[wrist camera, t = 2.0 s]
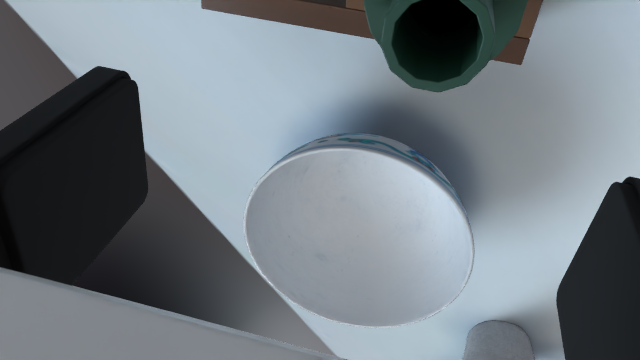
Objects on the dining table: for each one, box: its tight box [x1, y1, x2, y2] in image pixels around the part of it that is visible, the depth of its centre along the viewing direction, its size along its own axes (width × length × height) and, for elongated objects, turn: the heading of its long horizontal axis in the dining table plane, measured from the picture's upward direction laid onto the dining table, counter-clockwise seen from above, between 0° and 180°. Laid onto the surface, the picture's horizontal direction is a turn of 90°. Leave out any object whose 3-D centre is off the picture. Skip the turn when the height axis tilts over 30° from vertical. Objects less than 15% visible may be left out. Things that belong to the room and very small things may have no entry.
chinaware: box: [244, 133, 474, 328], centre depth 38 cm, size 15×15×8 cm
